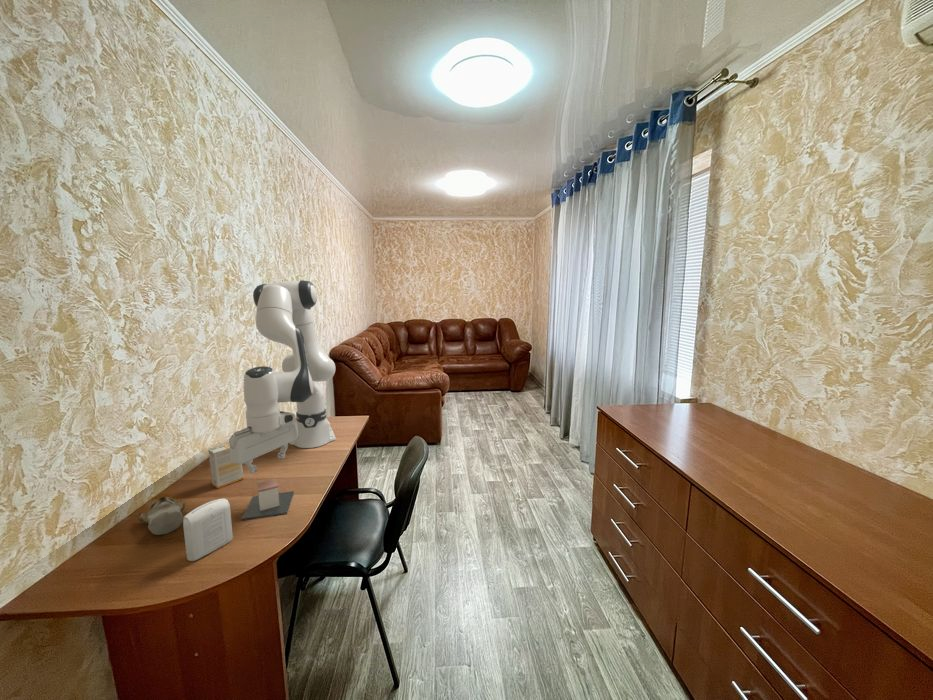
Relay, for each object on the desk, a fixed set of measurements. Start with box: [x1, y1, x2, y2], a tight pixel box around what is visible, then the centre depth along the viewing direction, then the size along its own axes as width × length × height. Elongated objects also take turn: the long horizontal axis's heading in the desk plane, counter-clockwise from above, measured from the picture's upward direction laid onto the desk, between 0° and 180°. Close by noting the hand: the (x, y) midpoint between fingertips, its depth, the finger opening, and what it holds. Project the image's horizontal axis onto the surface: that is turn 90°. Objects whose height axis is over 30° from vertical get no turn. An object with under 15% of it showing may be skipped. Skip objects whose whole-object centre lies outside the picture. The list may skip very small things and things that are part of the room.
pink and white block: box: [256, 478, 280, 511], centre depth 112 cm, size 5×5×7 cm
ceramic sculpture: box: [137, 497, 187, 536], centre depth 102 cm, size 11×9×15 cm
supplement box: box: [208, 442, 244, 489], centre depth 125 cm, size 8×5×13 cm, turn 145°
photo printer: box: [182, 498, 234, 562], centre depth 93 cm, size 10×4×12 cm, turn 152°
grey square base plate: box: [241, 490, 295, 521], centre depth 112 cm, size 12×12×6 cm
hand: (268, 465), depth 111 cm, fingers open, 8 cm apart
